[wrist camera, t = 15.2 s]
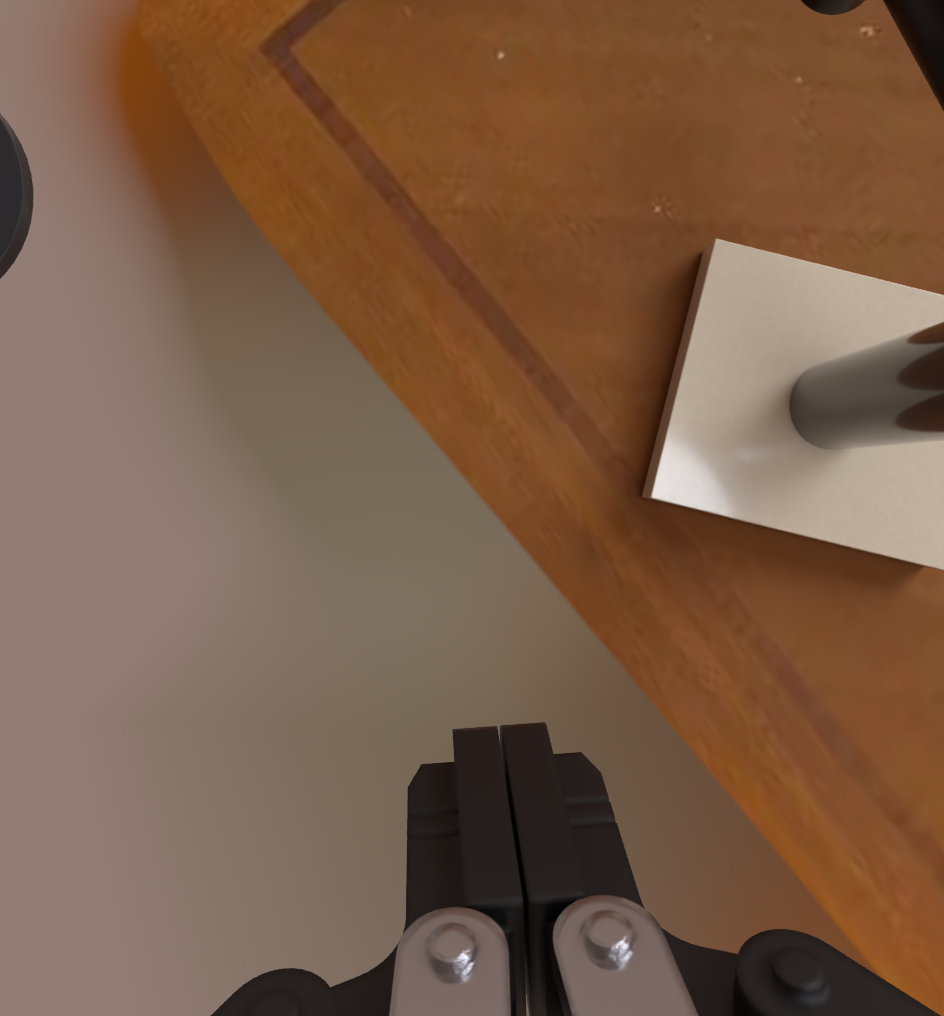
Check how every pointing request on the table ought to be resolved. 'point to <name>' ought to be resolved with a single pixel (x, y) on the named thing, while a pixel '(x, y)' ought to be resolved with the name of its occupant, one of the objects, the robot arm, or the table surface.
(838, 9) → the spout
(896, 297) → the base
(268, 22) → the table surface
